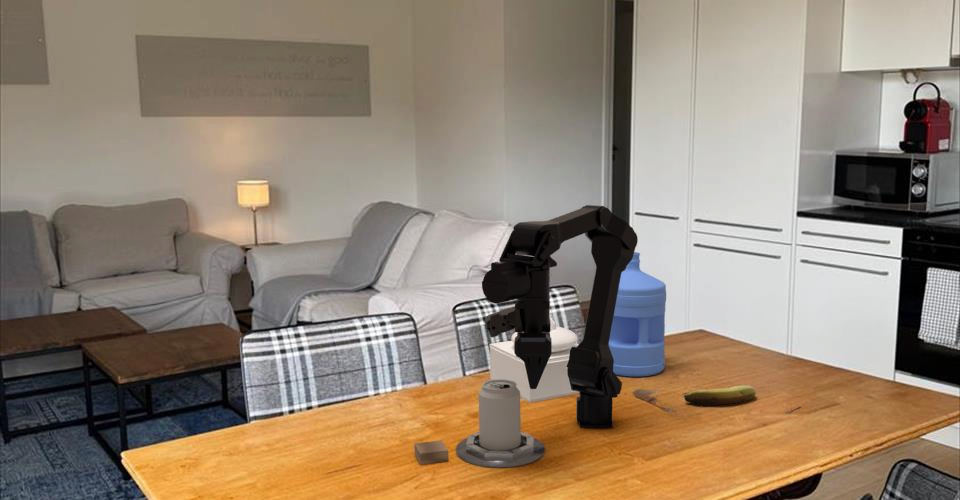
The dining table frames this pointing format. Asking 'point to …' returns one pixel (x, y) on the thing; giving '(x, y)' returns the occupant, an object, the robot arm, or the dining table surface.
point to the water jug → (638, 323)
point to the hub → (500, 452)
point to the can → (499, 415)
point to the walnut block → (431, 452)
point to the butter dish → (554, 373)
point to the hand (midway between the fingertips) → (533, 380)
